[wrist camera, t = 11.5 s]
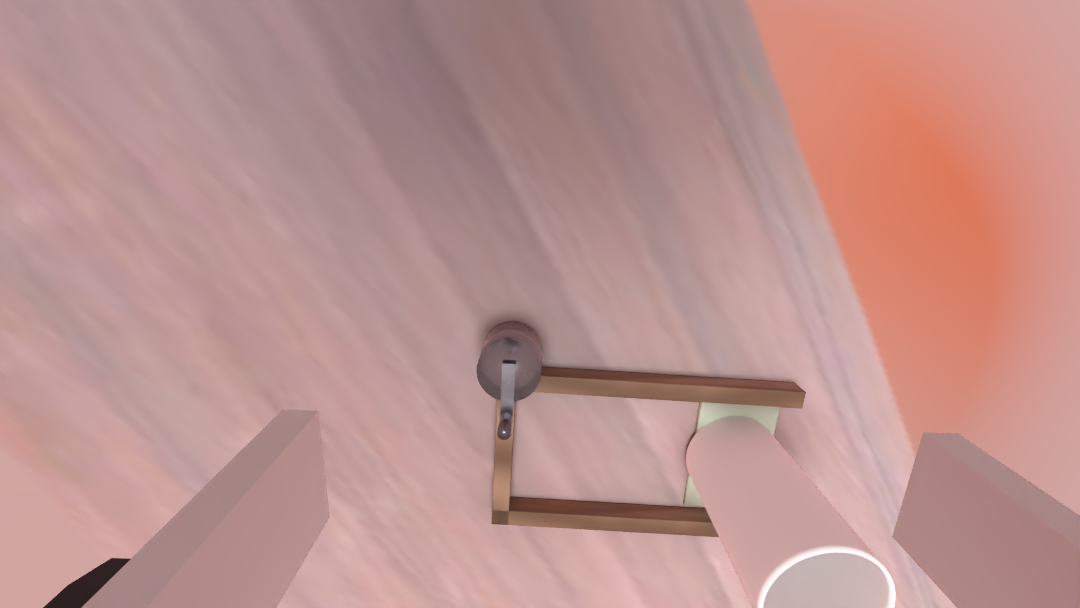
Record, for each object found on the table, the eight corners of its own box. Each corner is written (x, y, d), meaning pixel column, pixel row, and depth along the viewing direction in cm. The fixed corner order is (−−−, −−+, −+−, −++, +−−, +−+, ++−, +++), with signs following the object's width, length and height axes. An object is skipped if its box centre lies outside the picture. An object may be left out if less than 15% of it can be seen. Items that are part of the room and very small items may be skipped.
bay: (500, 364, 43) (498, 373, 42) (794, 382, 44) (805, 392, 42) (493, 509, 48) (491, 523, 46) (762, 525, 48) (771, 540, 46)
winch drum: (485, 319, 42) (472, 355, 34) (543, 323, 42) (543, 359, 35) (482, 389, 44) (469, 437, 36) (538, 392, 44) (537, 442, 36)
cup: (794, 454, 45) (924, 604, 30) (725, 510, 47) (815, 678, 32) (735, 398, 44) (840, 524, 28) (667, 457, 45) (731, 607, 30)
